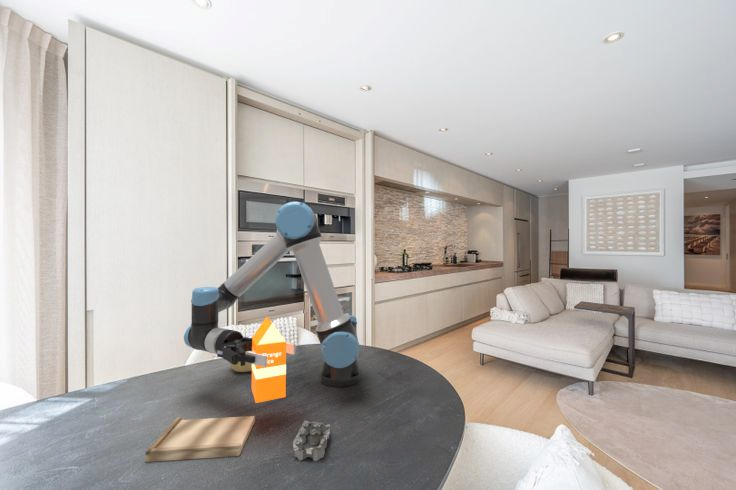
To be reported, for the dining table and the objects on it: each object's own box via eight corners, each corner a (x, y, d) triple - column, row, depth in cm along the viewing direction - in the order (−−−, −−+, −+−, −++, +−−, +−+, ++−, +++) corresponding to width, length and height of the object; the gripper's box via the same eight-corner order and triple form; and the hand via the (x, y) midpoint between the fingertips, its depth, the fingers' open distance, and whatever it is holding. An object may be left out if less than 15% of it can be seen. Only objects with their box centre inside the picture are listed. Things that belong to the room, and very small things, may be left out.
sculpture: (249, 361, 128) (250, 336, 128) (267, 368, 121) (267, 341, 121) (223, 370, 119) (223, 342, 119) (240, 378, 112) (241, 348, 112)
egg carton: (322, 464, 68) (322, 445, 68) (289, 461, 69) (289, 443, 69) (332, 434, 78) (332, 418, 78) (304, 432, 79) (304, 417, 79)
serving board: (254, 421, 84) (255, 413, 84) (239, 455, 70) (239, 445, 70) (177, 425, 82) (177, 417, 82) (145, 462, 68) (145, 451, 68)
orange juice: (255, 403, 77) (256, 324, 78) (250, 389, 85) (251, 317, 85) (286, 396, 81) (287, 321, 81) (279, 383, 89) (280, 314, 89)
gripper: (254, 344, 101) (307, 356, 91) (188, 367, 81) (246, 385, 71) (255, 322, 101) (308, 330, 91) (188, 339, 82) (246, 353, 71)
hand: (281, 354), depth 81 cm, fingers closed on orange juice, 10 cm apart
